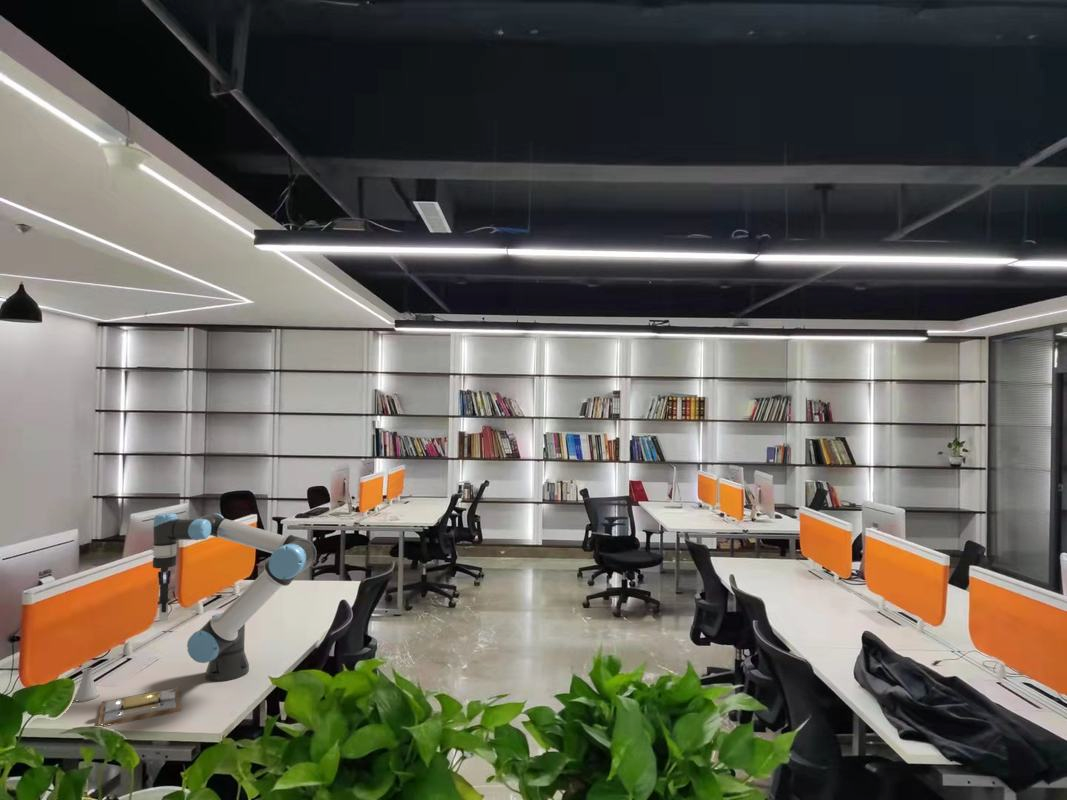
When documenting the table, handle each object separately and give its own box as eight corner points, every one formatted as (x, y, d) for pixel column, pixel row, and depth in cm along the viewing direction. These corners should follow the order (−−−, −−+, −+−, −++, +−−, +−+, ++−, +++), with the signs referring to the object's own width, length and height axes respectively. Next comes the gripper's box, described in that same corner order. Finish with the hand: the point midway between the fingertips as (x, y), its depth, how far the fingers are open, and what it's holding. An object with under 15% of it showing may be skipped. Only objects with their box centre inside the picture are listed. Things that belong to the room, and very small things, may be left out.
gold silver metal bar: (174, 694, 225) (174, 682, 225) (175, 702, 217) (175, 690, 218) (106, 707, 214) (106, 695, 214) (104, 716, 207) (105, 704, 207)
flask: (83, 703, 220) (83, 674, 221) (69, 700, 223) (70, 671, 224) (103, 695, 227) (104, 667, 228) (90, 692, 230) (91, 664, 230)
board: (178, 690, 231) (178, 687, 231) (180, 710, 214) (180, 707, 214) (102, 705, 219) (102, 701, 219) (98, 728, 202) (98, 724, 202)
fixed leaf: (176, 698, 221) (176, 686, 221) (177, 707, 214) (177, 695, 214) (103, 712, 210) (104, 700, 210) (102, 722, 203) (102, 709, 203)
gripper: (152, 554, 239) (151, 617, 238) (153, 560, 228) (151, 626, 227) (175, 552, 243) (174, 614, 242) (176, 557, 232) (175, 623, 231)
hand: (163, 620), depth 235 cm, fingers closed
